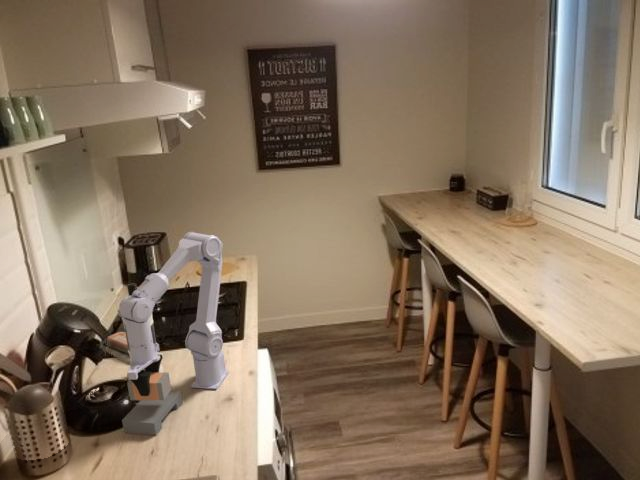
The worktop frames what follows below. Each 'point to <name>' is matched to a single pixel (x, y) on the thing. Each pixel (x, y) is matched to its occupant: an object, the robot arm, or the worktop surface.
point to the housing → (152, 387)
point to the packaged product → (118, 346)
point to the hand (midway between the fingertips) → (149, 389)
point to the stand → (150, 414)
